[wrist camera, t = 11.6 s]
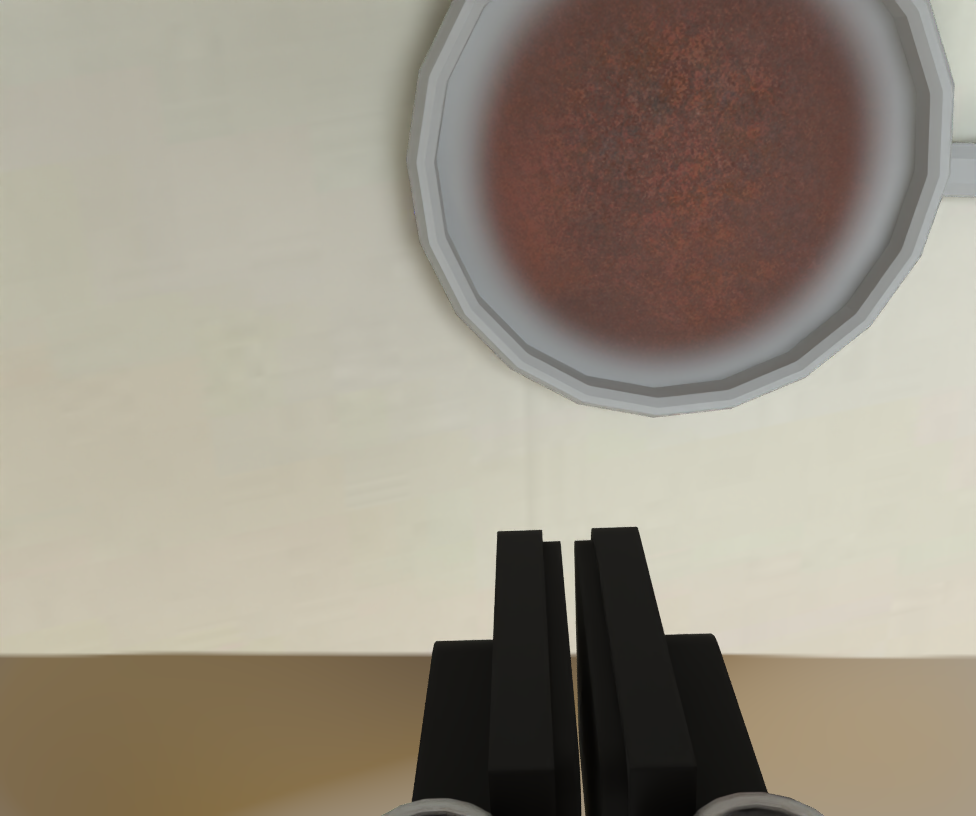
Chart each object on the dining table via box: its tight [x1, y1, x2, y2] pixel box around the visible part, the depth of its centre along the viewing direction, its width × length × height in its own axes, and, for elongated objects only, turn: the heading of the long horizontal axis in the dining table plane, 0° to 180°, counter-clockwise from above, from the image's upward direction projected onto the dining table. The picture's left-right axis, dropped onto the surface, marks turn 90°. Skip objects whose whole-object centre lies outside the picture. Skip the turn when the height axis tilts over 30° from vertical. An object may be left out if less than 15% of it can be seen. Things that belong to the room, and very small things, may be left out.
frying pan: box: [406, 0, 976, 418], centre depth 30 cm, size 17×3×28 cm
